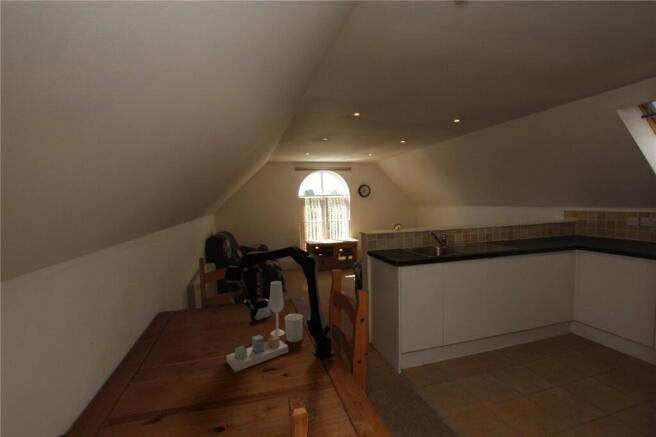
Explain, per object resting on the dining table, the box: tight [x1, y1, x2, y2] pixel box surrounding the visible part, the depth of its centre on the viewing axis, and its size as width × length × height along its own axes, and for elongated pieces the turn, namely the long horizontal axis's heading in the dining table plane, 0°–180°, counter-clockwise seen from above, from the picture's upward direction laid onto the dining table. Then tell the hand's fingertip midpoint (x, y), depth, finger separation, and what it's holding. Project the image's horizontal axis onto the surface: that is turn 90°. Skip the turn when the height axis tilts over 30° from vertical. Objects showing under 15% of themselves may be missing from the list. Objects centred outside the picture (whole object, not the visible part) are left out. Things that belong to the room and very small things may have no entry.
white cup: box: [284, 313, 304, 343], centre depth 131 cm, size 8×8×10 cm
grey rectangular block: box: [251, 334, 265, 353], centre depth 116 cm, size 3×3×5 cm
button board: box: [226, 339, 289, 373], centre depth 116 cm, size 9×22×2 cm, turn 128°
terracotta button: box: [267, 335, 281, 348], centre depth 120 cm, size 3×3×5 cm
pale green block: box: [234, 345, 247, 360], centre depth 112 cm, size 3×3×5 cm
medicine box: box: [254, 298, 271, 321], centre depth 157 cm, size 8×4×9 cm, turn 133°
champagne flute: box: [269, 280, 286, 337], centre depth 136 cm, size 7×7×24 cm
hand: (252, 319), depth 121 cm, fingers closed
